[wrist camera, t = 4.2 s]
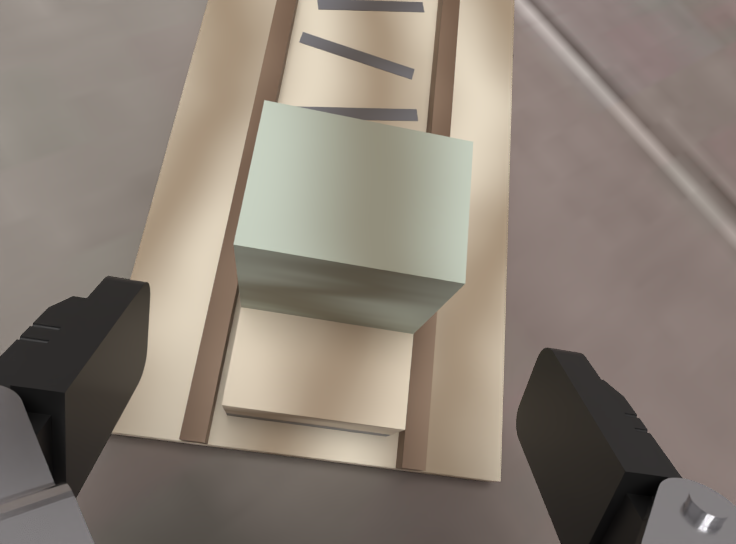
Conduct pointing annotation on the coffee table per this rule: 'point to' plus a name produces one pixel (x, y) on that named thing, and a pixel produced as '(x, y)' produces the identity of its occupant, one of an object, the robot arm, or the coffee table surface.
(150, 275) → the birch plank
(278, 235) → the block
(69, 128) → the coffee table surface
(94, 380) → the robot arm
